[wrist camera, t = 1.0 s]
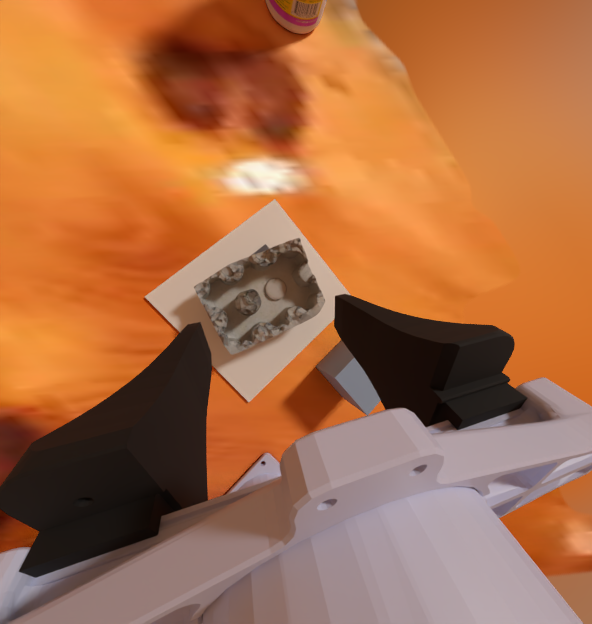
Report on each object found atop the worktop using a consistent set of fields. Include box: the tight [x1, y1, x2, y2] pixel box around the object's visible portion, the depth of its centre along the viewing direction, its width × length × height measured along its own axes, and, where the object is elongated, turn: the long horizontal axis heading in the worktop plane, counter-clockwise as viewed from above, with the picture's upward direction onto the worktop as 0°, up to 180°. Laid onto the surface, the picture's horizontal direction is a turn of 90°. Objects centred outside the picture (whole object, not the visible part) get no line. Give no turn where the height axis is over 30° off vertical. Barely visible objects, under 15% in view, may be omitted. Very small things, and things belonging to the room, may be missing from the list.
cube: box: [316, 340, 380, 415], centre depth 24 cm, size 5×5×5 cm
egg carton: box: [194, 238, 325, 354], centre depth 22 cm, size 11×8×4 cm
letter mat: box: [145, 199, 350, 402], centre depth 24 cm, size 16×14×1 cm
